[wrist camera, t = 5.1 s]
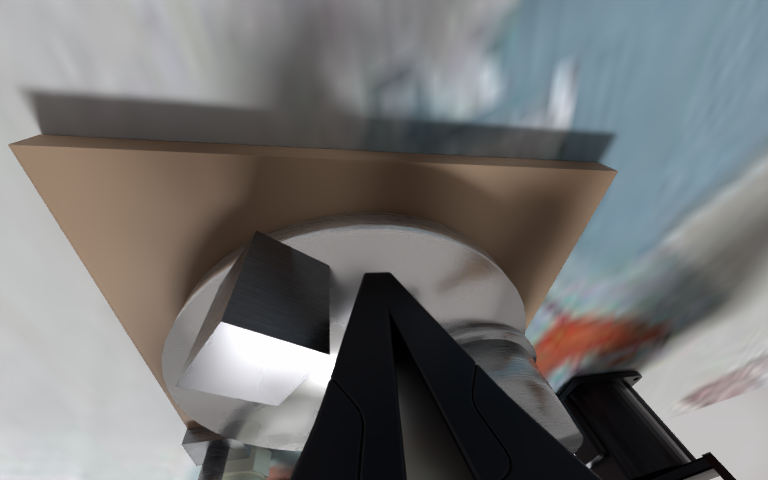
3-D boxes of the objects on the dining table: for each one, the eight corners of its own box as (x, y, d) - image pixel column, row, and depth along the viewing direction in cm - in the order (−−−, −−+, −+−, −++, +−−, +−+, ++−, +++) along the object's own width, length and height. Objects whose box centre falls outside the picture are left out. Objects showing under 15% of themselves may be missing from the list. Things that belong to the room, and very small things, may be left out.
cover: (469, 302, 11) (529, 411, 8) (554, 349, 14) (621, 441, 11) (363, 390, 14) (374, 502, 10) (456, 414, 17) (487, 504, 14)
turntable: (300, 113, 8) (274, 178, 4) (565, 308, 15) (644, 396, 11) (126, 396, 13) (47, 535, 9) (381, 438, 20) (393, 526, 17)
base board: (597, 162, 12) (622, 173, 11) (472, 398, 22) (479, 415, 21) (40, 134, 8) (0, 147, 7) (206, 432, 19) (199, 454, 18)
